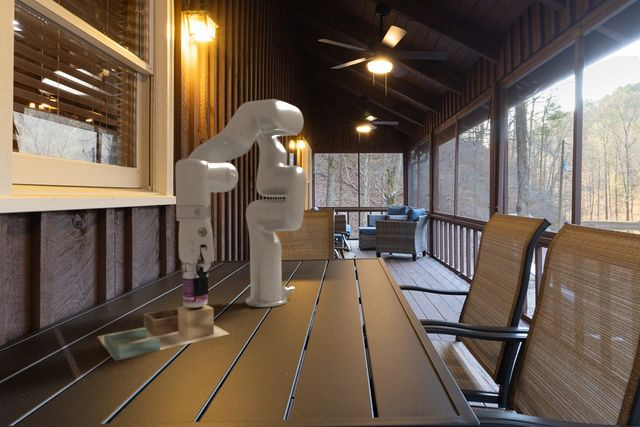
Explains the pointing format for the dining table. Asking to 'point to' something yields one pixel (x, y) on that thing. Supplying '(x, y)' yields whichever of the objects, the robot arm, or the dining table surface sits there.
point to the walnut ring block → (161, 322)
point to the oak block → (195, 322)
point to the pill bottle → (191, 289)
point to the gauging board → (146, 342)
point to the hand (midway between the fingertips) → (195, 292)
